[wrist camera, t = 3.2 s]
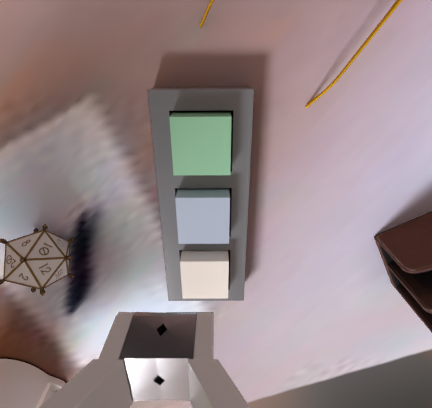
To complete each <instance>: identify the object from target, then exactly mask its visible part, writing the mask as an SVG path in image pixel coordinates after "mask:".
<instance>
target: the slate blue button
mask: <svg viewBox="0 0 432 408" xmlns="http://www.w3.org/2000/svg"><path fill="white" fill-rule="evenodd" d="M175 202H176V216H177V229H178V243H179V244H229V222H230V193H229V188H178V190H177V194H176V197H175Z"/></svg>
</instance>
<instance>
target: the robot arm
mask: <svg viewBox="0 0 432 408" xmlns="http://www.w3.org/2000/svg"><path fill="white" fill-rule="evenodd" d="M154 400H169V401H191V405H192V407H193V408H250V407H249V405H248V404H247V402H246V401H245V399H244V398H243V396H242V395H241V393H240V392H239V390H238V389H237V387H236V386H235V384H234V383H233V381H232V380H231V378H230V377H229V375H228V374H227V372H226V371H225V369H224V368H223V366H222V365H221V363H220V362H219V360H218V359H214V314H213V312H198V313H197V312H167V313H151V312H119V313H118V314H117V316H116V317H115V320H114V322H113V325H112V327H111V329H110V332H109V334H108V337H107V339H106V342H105V344H104V347H103V349H102V352H101V354H100V357H99V359H93V360H92V361H91V362H90V363H89V364H88V365H87V366H85V367H84V368H83V369H82V370H81V371H80V372H79V373H77V374H76V375H75V376H74V377H73V378H72V379H71V380H70V381H68V382H67V383H65V382H64V381H62V380H60V379H58V378H55V377H52V376H49V375H48V374H46V373H45V372H43V371H42V370H40V369H38V368H37V367H35V366H33V365H30V364H28V363H25V362H21V361H17V360H12V359H0V408H129V407H130V406H131V405H132V401H154Z"/></svg>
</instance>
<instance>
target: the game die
mask: <svg viewBox="0 0 432 408" xmlns="http://www.w3.org/2000/svg"><path fill="white" fill-rule="evenodd" d="M42 229H43V230H41V231H38V229H37V228H35V230H34V233H32V234H29V235H26V236H23V237H20V238H17V239H14V240H11V241H8V242H7V241H6V240H5V239H0V243H4V244H6V245H5V261H4V278H3V279H2V280H0V285H1V284H2V283H3V282H4V281H7V282H11V283H16V284H20V285H24V286H28V287H32V288H31V291H32V292H35V291H36V288H37V289H40V294H41V295H42V296H43V294H44V293H45V290H44V288H46V287H47V286H49V285H51V284H53V283H55V282H56V281H58V280H60V279H62V278H64V277H65V276H69V277H70V278H73V277H74V276H73V274H70V273H69V260H70V259H71V258H72V257H71V256H70V242H73V241H74V240H75V238H71V239H70V240H69V241H68V240H66V239H63V238H61V237H59V236H57V235H55V234H53V233H51V232H48V231H46V229H47V225H46V224H45V225H44V226H43V228H42Z"/></svg>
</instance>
